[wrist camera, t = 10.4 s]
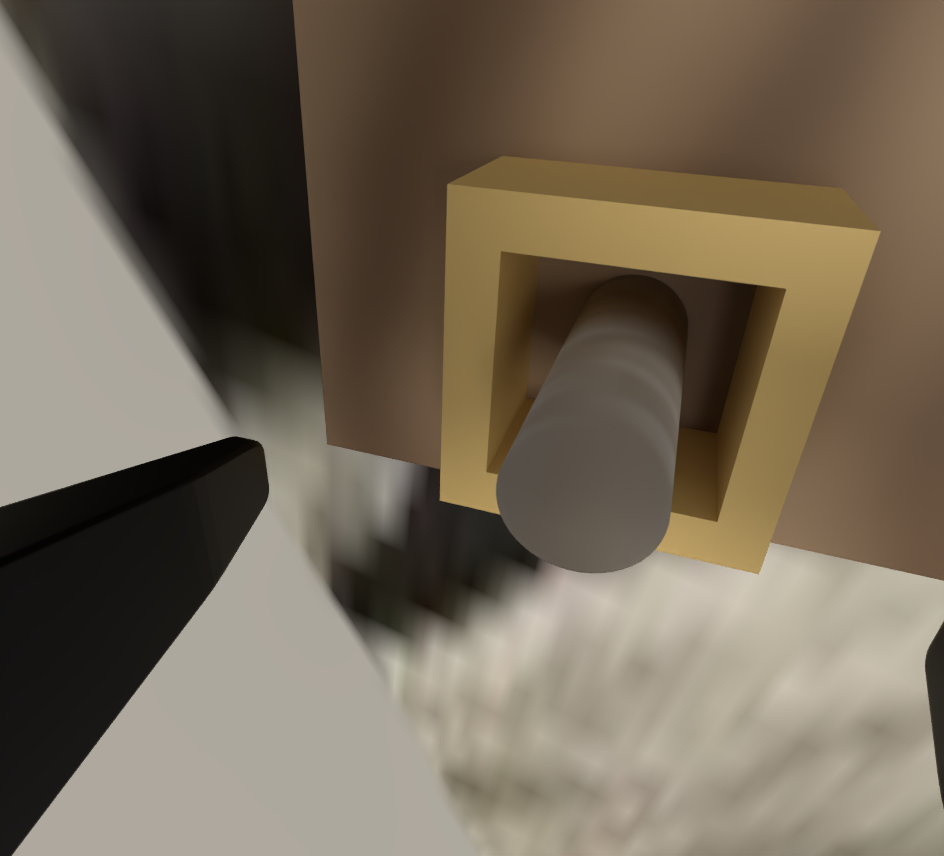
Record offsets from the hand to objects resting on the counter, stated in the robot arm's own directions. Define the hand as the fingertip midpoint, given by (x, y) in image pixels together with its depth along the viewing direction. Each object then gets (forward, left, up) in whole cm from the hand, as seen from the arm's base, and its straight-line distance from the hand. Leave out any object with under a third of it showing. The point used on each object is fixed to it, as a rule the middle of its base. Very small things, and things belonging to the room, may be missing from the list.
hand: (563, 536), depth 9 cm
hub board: (-2, -1, -9) cm, 9 cm away
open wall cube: (0, 0, -8) cm, 8 cm away
